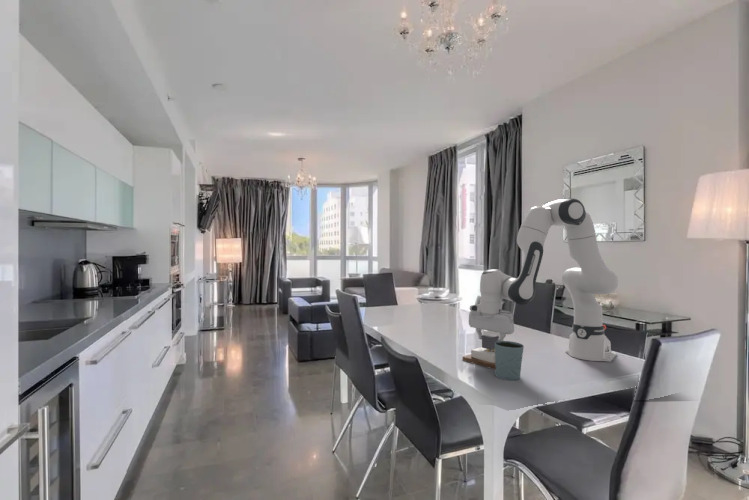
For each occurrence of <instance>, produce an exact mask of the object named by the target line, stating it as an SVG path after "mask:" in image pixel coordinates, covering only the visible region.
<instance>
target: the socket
mask: <svg viewBox="0 0 749 500" xmlns="http://www.w3.org/2000/svg"><path fill="white" fill-rule="evenodd" d="M492 350H493V349H492ZM470 354H471V357H473V358H477V359H481V360H484V361H488V362H492V363H495V360H496V359H495V351H493V352H488V351H487V349H486V348H482V346H481V347H477V348H473V349H471V350H470Z"/></svg>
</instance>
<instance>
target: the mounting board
mask: <svg viewBox="0 0 749 500" xmlns="http://www.w3.org/2000/svg"><path fill="white" fill-rule="evenodd" d="M462 361H465V362H468V363H471V364H475V365H478V366H481V367H484V368H485V367H486V368H488V369H493V370H496V367H495V363H496V362H495V363H492V362H488V361H484V360H481V359H477V358H473V357H471V353H470V354H468V355H467V354H466V355H463V356H462Z"/></svg>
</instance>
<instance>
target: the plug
mask: <svg viewBox="0 0 749 500" xmlns="http://www.w3.org/2000/svg"><path fill="white" fill-rule="evenodd" d="M482 335H483V334H482ZM498 339H499V336H497V335H493V334H487V335H483V336H482V340H481V347H482V348H486V349H487V351H488V352H490V350H492V349H493V351H495V342H497V341H498Z"/></svg>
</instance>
